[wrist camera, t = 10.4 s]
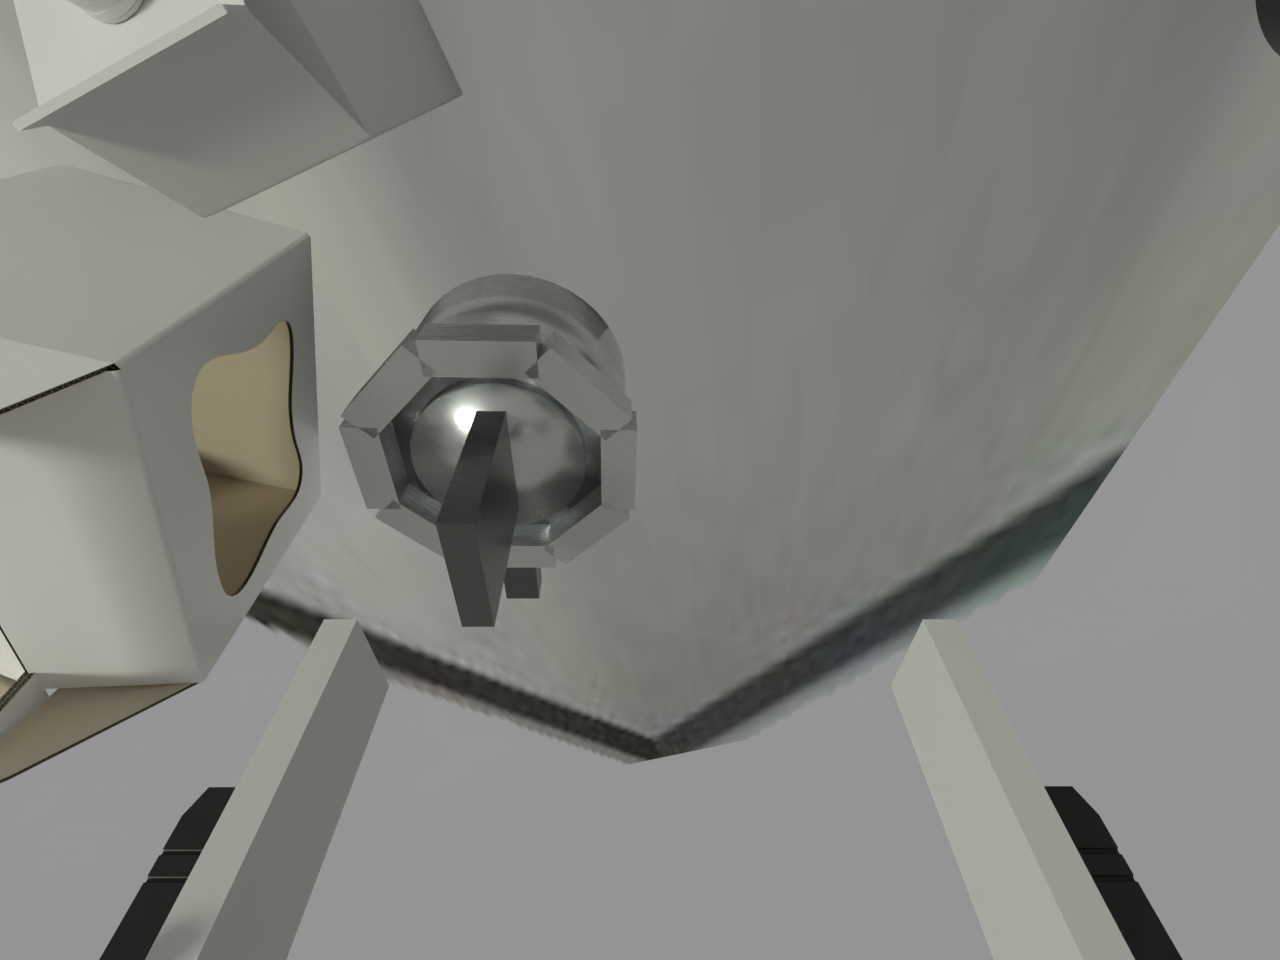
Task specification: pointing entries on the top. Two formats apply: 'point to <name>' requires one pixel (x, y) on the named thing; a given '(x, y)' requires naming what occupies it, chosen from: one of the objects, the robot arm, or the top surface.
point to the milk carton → (228, 85)
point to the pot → (502, 348)
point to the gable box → (140, 445)
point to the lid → (493, 477)
